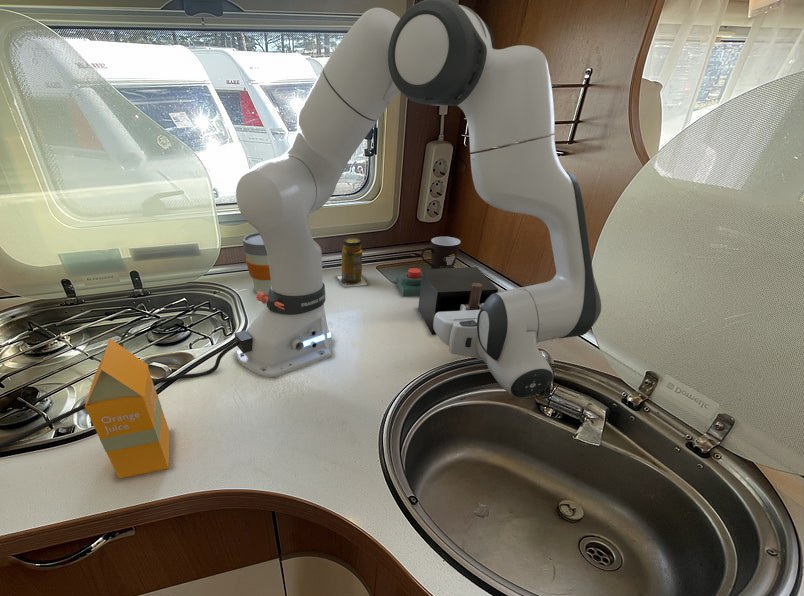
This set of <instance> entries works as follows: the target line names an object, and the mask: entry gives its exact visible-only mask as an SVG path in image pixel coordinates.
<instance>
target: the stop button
mask: <svg viewBox="0 0 804 596" xmlns="http://www.w3.org/2000/svg"><path fill="white" fill-rule="evenodd" d="M407 272H408V277H409V278H413V279H416V278H420V276H421V273H422V270H421V269H420V268H416V267H413V268H412V267H411V268H408V270H407Z"/></svg>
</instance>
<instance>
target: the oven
mask: <svg viewBox="0 0 804 596" xmlns="http://www.w3.org/2000/svg"><path fill="white" fill-rule="evenodd" d="M421 273H422V278H421V287H420V296H419V298H418V306H417V309H418V312H419V315H420V316H421V317H422V319H423V321H424V323H425V325H426V327H427V328H428V331H429V332H430V334H431V335H432V336H437V334H436V332H435V331H434V328H433V322H434V316H435V314H436V313H437V312H440V309H441V305H445V304H465V303H468V299H469V298H470V292H471V287H472V284H473V283H480V284H482V285H483V286H482V291H481V296H480V301H479V304H481V303H485V301H486V300H487V299H488V297H489V296H490V295H491V294H494V293H498V292H499V288H498V287H497V286H496V285H495V284H494V283H493V282H492V281H491V280H490V279H489V278H488V277H487V276H486V275H485V274H484V273H483V272H482V271H481V270H480V269H479V268H478V267H477V266H469V267H468V266H466V267H454V268H444V269H431V268H424V269H422V270H421Z"/></svg>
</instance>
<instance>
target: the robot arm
mask: <svg viewBox="0 0 804 596" xmlns="http://www.w3.org/2000/svg"><path fill="white" fill-rule="evenodd" d="M552 87H553V86H552V80H551V75H550V69H549V63H548V60H547V57H546V55H545V54H544V53H543V51H542V50H540V49H539V48H537V47H535V46H531V45H524V44H522V45H521V44H520V45H513V46H508V47H505V48H501V49H497V48H496V45H495V38H494V35H493V32H492V30H491V28H490V26H489V25H488V24H487V23H486V22H485V21H484V20H483V19H482V18H481V17H480V16H479V14H478V13H476V12H475V11H474V10H473V9H472V8H469V7H468V6H466V5H463V4H458V3H456V2H455V1H453V0H421V1H419V2H416V3H415V4H413V5H411V7H410V8H408V9H407V10H406V11H405V12H404V13H403V15H402V16H401V17H400V16H398V15H397V14H396V13H394V12H392V11H391V10H388V9H386V8H383V7H371V8H370V9H367V10H366V11H365V12H364V13H362V15H361V16H360V17H359V18H358V19H357V20H356V21H355V23H354V24H353V25H352V26H351V27H350V28H349V30H348V31H347V33H345V34H344V36H343V38H342V39H341V40H340V42H339V43H338V44H337V46H336V47H335V49H334V50H333V52H332V53H331V54H330V57H329V58H328V60H327V61H326V63H325V65H324V66H323V68H322V70H321V71H320V73H319V75H318V77H317V79H316V80H315V82H314V83H313V85H312V87H311V88H310V91H309V92H308V94H307V96H306V97H305V100H304V101H303V103H302V105H301V106H300V108H299V110H298V113H297V115H296V116H297V118H296V120H297V129H296V132H295V136H294V139H293V141H292V144H291V146H290V147H289V148H288V149H287V151H286V152H285V153H283V154H282V155H281V156H279V157H276V158H272V159H268V160H266V161H261V162H259V163H257V164H256V165H254V166H253V167H252V168H250V169H249V170H248V171H247V172H245V173H244V174H243V175H242V176H241V177H240V179H239V180H238V182H237V185H236V189H235V190H236V191H235V200H236V204H237V208H238V210H239V212H240V215H241V216H242V217H243V219H244V220H245V221H246V222H247V223H248V224H249V225H250V226H252V227H253V228H255V229H256V231H257V232H259V234H260V236H261V238H262V240H263V243H264V245H265V248H266V252H267V256H268V262H269V270H270V277H271V286H270V290H269V294H268V295H267V294H264V293H263V292H258V293H257V292H256V295H255V299H256V301H258V302H261V303H262V304H266V306H265V307H264V308H263V309H262V311H261V312H260V313H259V314H258V315H257V317H256V318H255V319H254V320H253V322H252V323H250V325H249V326H248V327H247V329H246V330H245V329H244V330H241V331H237V332H235V333H234V339H235V342H233V343H232V344H229V346H227V347H225V348H224V349H223V350H221V352H219V354H218V356H217V357H216V360H215V363H214V365H213V366H212V367H211V368H209V369H207V370H206V371H203V372H198V373H197V372H196V373H185V374H178V375H173V376H168V377H164V378H158V379H154V380H153V379H152V381H153V384H154V385H158V384H163V383H164V384H165V383H168V382H174V381H178V380H182V379H184V380H185V379H193V378H199V377H205V376H208V375H211V374H212V373H214V372H215V371H217V369H218V368H219V366H220V363H221V360H222V358H223V357H224V356H225V355H226V354H227V353H228V352H230V351H232V350H233V349H235V348H236V347H237V348H238V349H236V359H237V361H238V362H239V364H241V366H243V367H244V368H245V369H247V370H249V371H251V372H252V373H254V374H257V375H258V376H262V377H266V378H276V377H279V376H282V375H285V374H287V373H291V372H293V371H296V370H299V369H302V368H304V367H307V366H309V365H310V366H311V365H312V364H315V363H318V362H320V361H323V360H325V359H329V358H331V356H332V350H331V346H332V344H333V339H332V332H330V330H329V327H328V322H327V316H326V310H325V302H326V286H325V285H326V284H325V283H324V282H323V281H324V280H323V279H324V278H323V275H324V274H323V252H322V251H323V250H322V248H321V246H320V245H319V243H318V242H317V241H315V240H314V237H313V236H312V232H311V228H310V225H309V216H310V214H312V213H314V212H316V211H318V210H319V209H321V208H322V207H323V206H324V205H325V204H327V202H328V201H329V200H330V199H331V198H332V196H333V194H334V193H335V191H336V188H337V184H339V183H338V182H339V181H340V179H341V177H342V175H343V173H344V171H345V170H346V167H347V165H348V163H349V161H351V158H352V157H353V155H354V154H355V153H356V151H357V150H358V148H359V147H360V146H361V144H362V143H363V141H364V140H365V139H366V137H367V136H368V135H369V133H370V132H371V130H372V129H373V128H374V126H375V125H376V123H377V122H378V121H379V119H380V118H381V117H382V115H383V114H384V112H385V110H387V108H388V106H389V105H390V104H391V103H392V102H393V100H394V99H395V98H396V97H397V96H398V95H400V94H402V96H404V97H406V99H408V100H410V101H412V102H413V103H417V104H421V105H429V106H436V107H441V106H442V107H443V106H449V107H456V106H457V107H458V108H460V110H461V111H462V112H463V113H464V116H465V119H466V122H467V128H468V137H469V138H468V140H469V153H470V154H469V155H470V157H469V158H470V169H471V170H470V171H471V177H472V182H473V186H474V190H475V191H476V194H477V195H478V196H479V197H480V199H481V200H483V201H484V202H485V203H486V204H487V205H489V206H491V207H493V208H495V209H498V210H500V211H505V212H510V213H516V214H521V215H526V216H527V215H528V216H533V217H535V218H538V219H539V220H541V221H542V222H543V223H544V224H545V225H546V227H547V229H548V233H549V237H550V243H551V248H552V254H553V261H554V266H555V275H554V276H553V278H551V280H549V281H545V282H540V283H536V284H531V285H527V286H523V287H522V286H519V287H515V288H510V289H507V290H502V291H498V293H494V294H491V295H490V296H489V297H488V299H487V300H486V301H485V303H481V304H479V306H478V310H470V306H468V304H462V305H461V307H460V311H446V312H437V313H436V314H435V316H434V322H433V328H434V331H435V332H436V334H437V335H436V336H437V337H438V338H439V340H440V341H441V342H442V343H443V344H444V345H447V346H448V351H449V353H450V354H452V355H455V356H463V357H470V358H474V359H477V360H480V361H481V360H482V361H483V362H484V364H486V366H487V369H488V371H489V373H490V375H491V376H492V377H493V378H494V380H495V381H496V382H497V383H498V385H500V386H501V387H502V389H503V390H504V391H505V392H506V393H508V394H509V395H511V396H512V397H515V398H526V397H531V396H535V395H537V394H540V393H542V392H543V391H545V390H546V389H547V388H548V387H549V386H550V385H551V383H552V382H553V381H554V371H553V369H552V367H551V365H550V364H549V361H548V360H547V359H546V357H545V356H544V354H543V353H542V352H541V351H540V349H539V348H538V344H537V343H542V342H547V341H552V340H557V339H565V338H567V339H568V338H573V337H582V336H584V335H585V334H587V333H588V332H589V331H590V330H591V329H592V328H593V327H594V325H595V324H596V322H597V320H598V319H599V318H600V315H601V312H602V301H601V300H602V299H601V296H600V291H599V289H598V285H597V283H596V279H595V276H594V269H593V262H592V255H591V248H590V239H589V233H588V223H587V217H586V212H585V205H584V200H583V195H582V191H581V187H580V183H579V181H578V179H577V177H576V175H575V174H574V173H572V172H570V171H567V170H565V169H564V167H563V165H562V164H561V160H560V159H559V156H558V153H557V149H556V148H557V147H556V138H555V131H556V130H555V128H556V127H555V126H556V125H555V104H554V95H553V94H554V93H553V88H552ZM85 405H86V402H84V404H81V405H79V406H77V407H75V408H72V409H70V410H68V411H66V412H64V413H62V414H59V415H57V416H55V417H54V418H52V419H49V420H47V421H45V422H43V423H41V424H39V425H36V426H35V427H33V428H31V429H29V430H26V431H25V432H22V433H20V434H19V435H16V436H14V437H12V438H10V439H7V440H5V441H3V442H0V450H2V449H4V448H5V447H8V446H10V445H12V444H14V443H17V442H19V441H21V440H23V439H25V438H27V437H29V436H32V435H34V434H35V433H38V432H39V431H41V430H43V429H45V428H48V427H49V426H52V425H55V424H57V423H58V422H60V421H62V420H64V419H67V418H68V417H71V416H73V415H74V414H76V413H79V412H81V411H83V410H86V408H85Z"/></svg>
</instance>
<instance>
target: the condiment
mask: <svg viewBox="0 0 804 596" xmlns="http://www.w3.org/2000/svg"><path fill="white" fill-rule="evenodd" d="M362 273H363V249H362V241H361V240H360V239H359V238H356V237H349V238H345V239H344V240H343V241H342V249H341V275H337V276H336V277H337V279H338V280H339V282H340V283H341V285H342V287H346V288H347V287H358V286H367V285H368V283H367V282H366V281H365V280H364V278H363V277H362Z"/></svg>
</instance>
